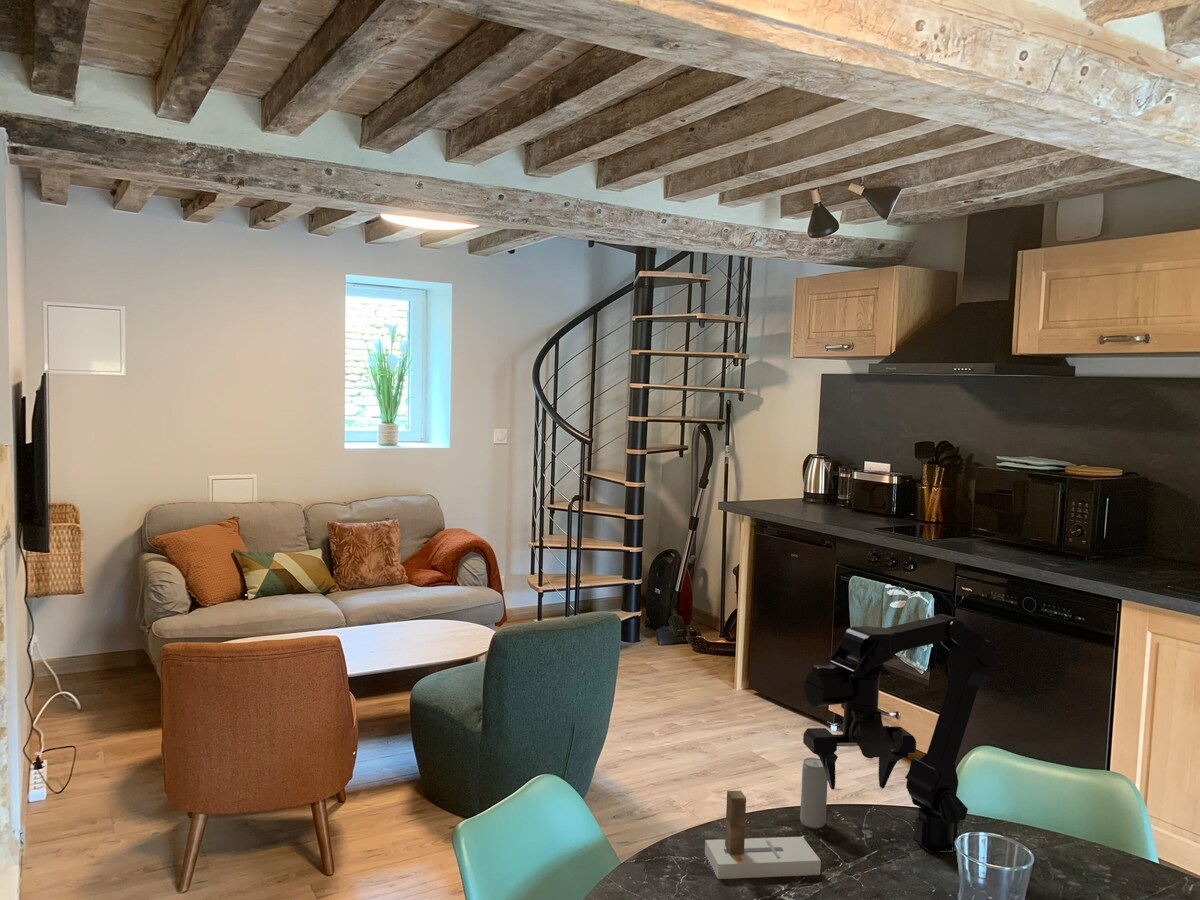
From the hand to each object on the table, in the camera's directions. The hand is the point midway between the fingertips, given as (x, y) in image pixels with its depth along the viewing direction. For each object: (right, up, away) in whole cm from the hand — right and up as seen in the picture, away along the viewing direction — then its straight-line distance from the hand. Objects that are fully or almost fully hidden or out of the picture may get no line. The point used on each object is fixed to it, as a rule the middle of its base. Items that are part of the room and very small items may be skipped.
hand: (857, 788), depth 158 cm
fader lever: (-22, -10, -3) cm, 24 cm away
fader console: (-17, -13, -2) cm, 21 cm away
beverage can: (-4, -13, +14) cm, 20 cm away
